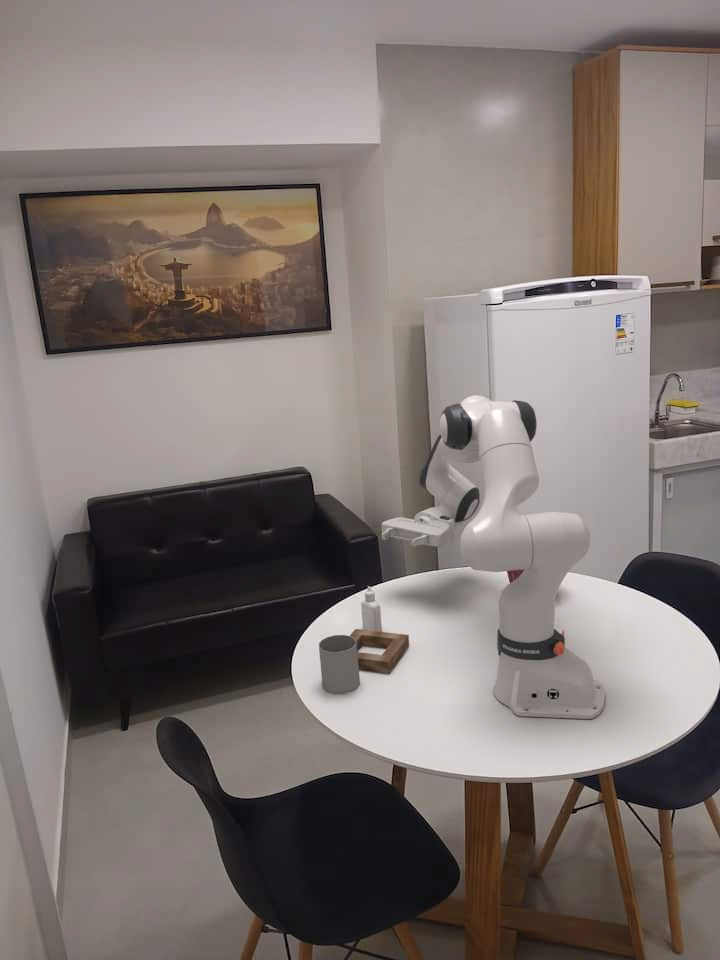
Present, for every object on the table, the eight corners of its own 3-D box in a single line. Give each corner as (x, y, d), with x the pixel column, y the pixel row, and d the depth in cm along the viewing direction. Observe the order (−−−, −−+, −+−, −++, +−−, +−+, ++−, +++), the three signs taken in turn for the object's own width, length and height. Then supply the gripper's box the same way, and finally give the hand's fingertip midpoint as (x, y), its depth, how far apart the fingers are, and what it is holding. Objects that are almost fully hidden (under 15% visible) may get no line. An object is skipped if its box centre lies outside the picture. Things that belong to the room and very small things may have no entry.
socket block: (409, 646, 178) (408, 634, 177) (389, 674, 165) (388, 662, 164) (356, 639, 183) (355, 628, 182) (333, 666, 170) (332, 654, 170)
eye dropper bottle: (366, 636, 184) (362, 592, 182) (362, 627, 190) (358, 584, 187) (382, 633, 185) (379, 589, 182) (378, 624, 191) (375, 581, 188)
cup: (361, 674, 166) (358, 634, 163) (358, 693, 158) (354, 651, 155) (325, 675, 167) (321, 635, 164) (319, 694, 159) (315, 652, 156)
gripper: (399, 509, 207) (367, 522, 197) (458, 520, 193) (427, 535, 184) (400, 530, 209) (368, 544, 199) (459, 542, 195) (428, 558, 185)
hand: (397, 540), depth 191 cm, fingers open, 8 cm apart
